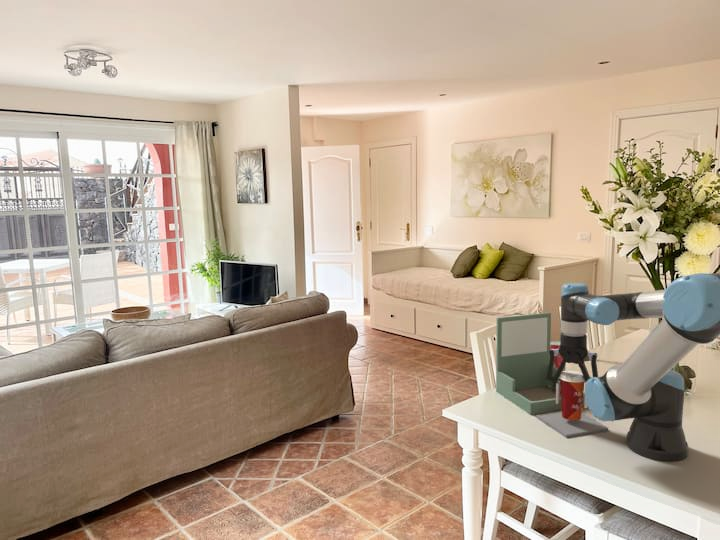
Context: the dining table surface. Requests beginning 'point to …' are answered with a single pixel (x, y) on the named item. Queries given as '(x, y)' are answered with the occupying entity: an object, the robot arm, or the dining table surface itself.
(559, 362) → the soda can
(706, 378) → the dining table surface
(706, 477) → the dining table surface
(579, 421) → the rubber mat
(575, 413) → the paper cup
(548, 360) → the green display box
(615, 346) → the dining table surface
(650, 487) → the dining table surface
